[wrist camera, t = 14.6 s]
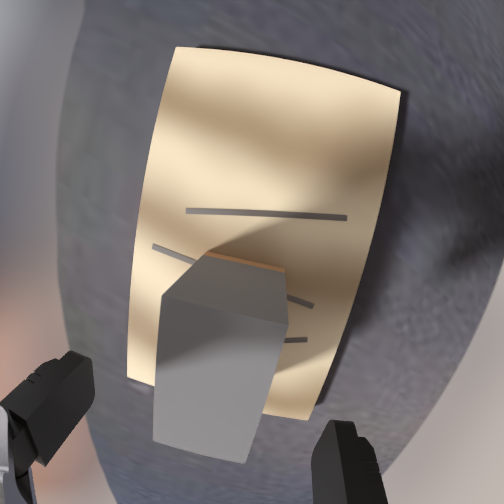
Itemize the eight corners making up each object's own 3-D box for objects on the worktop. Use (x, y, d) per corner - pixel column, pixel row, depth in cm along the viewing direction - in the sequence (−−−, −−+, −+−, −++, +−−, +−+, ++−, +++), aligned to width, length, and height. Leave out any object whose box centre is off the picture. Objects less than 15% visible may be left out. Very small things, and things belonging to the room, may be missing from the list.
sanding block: (206, 251, 16) (161, 295, 9) (284, 268, 16) (288, 324, 9) (189, 364, 17) (153, 440, 11) (255, 380, 17) (244, 463, 11)
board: (182, 54, 15) (175, 46, 13) (393, 97, 14) (401, 91, 13) (134, 367, 19) (127, 377, 18) (306, 408, 19) (307, 420, 18)
